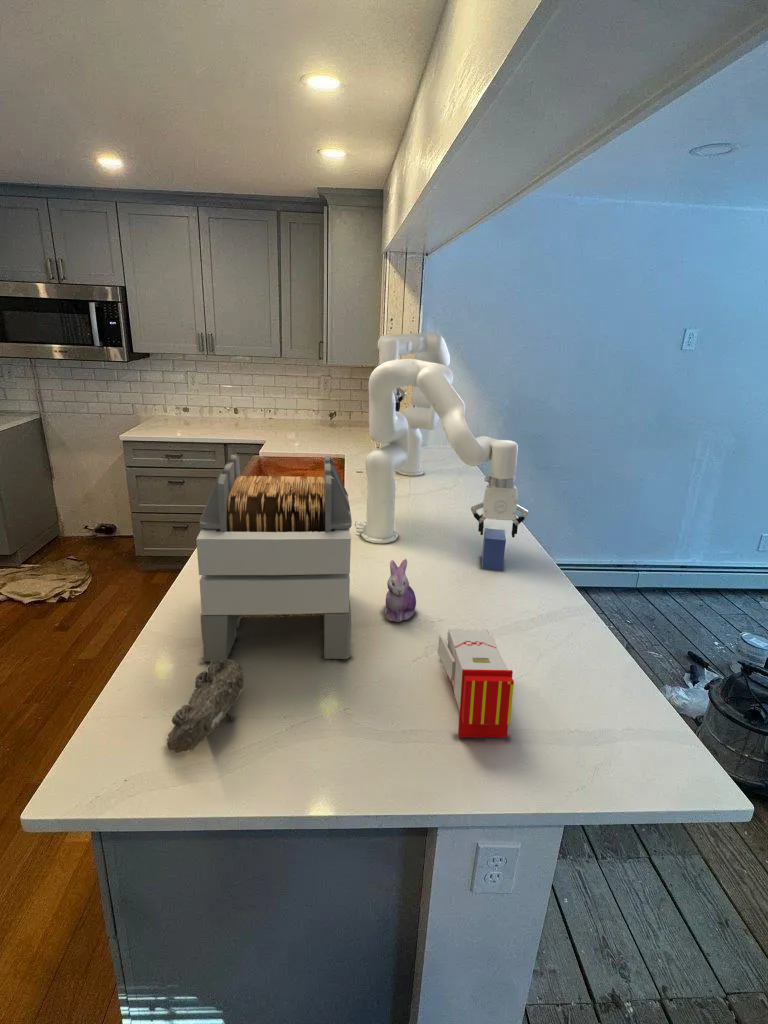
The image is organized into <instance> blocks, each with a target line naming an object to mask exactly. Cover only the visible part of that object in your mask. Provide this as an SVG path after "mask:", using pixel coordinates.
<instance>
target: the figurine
mask: <svg viewBox="0 0 768 1024" xmlns="http://www.w3.org/2000/svg"><path fill="white" fill-rule="evenodd" d="M407 567H408V559H406V558H404V559H403V560H402V561H401V563H400V565H399V566H398V565H397V563H396V562H395V561H394V560H393V559H391V560H390V561H389V570H390V576H389V578H388V579H387V589H388V591H387V592H386V594H385V595H386V596H385V607H384V615H385V616H386V620H387V621H391V622H395V623H400V622H402V621H406V620H409V619H410V618H411V617H413V616H414V615H415V610H416V606H417V597H416V593H415V591H414V590H413V587H411V586H410V582H409V579H408V577H407V574H406V571H407Z"/></svg>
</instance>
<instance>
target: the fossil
mask: <svg viewBox="0 0 768 1024" xmlns="http://www.w3.org/2000/svg"><path fill="white" fill-rule="evenodd" d="M243 670H244V669H243V667H242V665H240V664H237V662H236V661H235V660H234V659H232V658H231V659H228V658H227V660H224V661H217V660H212V661H209V665H208V666H207V671H201V672H199V673H198V674H197V675H196V676H195V680H194V684H195V685H194V687H195V689H194V690H193V693H192V694H191V697H190V698H189V700H188V704H184V705H182V706H181V707H180V709H177V710H176V711H175V713H174V715H173V716H172V718H171V723H172V724H173V727H172V730H171V731H170V732H168V734H167V738H166V741H167V742H166V745H167V749H168V750H169V751H173V752H174V753H176V754H178V753H182V752H188V751H189V752H192V751H193V750H195V748H196V747H197V746H199V744H200V743H201V742H203V741H204V740H205V739H206V738H207V737H208V736H209V735H210V734H211V733H212V732H214V730H215V729H217V727H218V726H219V724H220V722H221V721H222V720H223V719H224V718H225V716H226V717H227V719H229V720H233V717H232V715H230V714H229V710H230V709H231V708H234V706H235V704H236V703H237V702H238V699H239V697H240V695H241V693H242V691H243V690H245V689H244V688H245V675H244V671H243Z"/></svg>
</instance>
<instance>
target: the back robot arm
mask: <svg viewBox="0 0 768 1024" xmlns="http://www.w3.org/2000/svg"><path fill="white" fill-rule="evenodd" d="M377 349H378V351H379V364H377V366H376V367H378V366H379V365H381V364H383V363H385V362H388V361H392V360H399V356H407V355H413V354H414V357H413V359H415V360H421V361H426V362H431V363H437V364H442V365H445V366H447V367H448V368H449V366H450V363H451V356H450V355H451V354H450V352H449V349H448V345H447V343H446V341H445V338H444V337H443V336H442V335H441V334H439V333H431V332H417V333H414V332H413V333H399V334H383V335H381V336H380V337H379V338H378V340H377ZM393 393H394V396H395V401H396V407H395V410H396V411H398V412H400V410H401V402H402V401H403V400H404V399H405V397H406V396H407V391H406V390H404V389H402V387H399V388H395V389H394V390H393ZM400 394H401V395H400ZM410 404H411V405H412V406H409V407H405V408H404V409H403V410H402V412H401V413H402V414H403V415H404V416H405V418H406V420H407V422H408V428H409V443H408V460H407V463H406V464H405V466H404V467H403V468H401V469H399V470H397V471H396V472H397V473H398V474H400V475H402V476H407V477H416V476H422V475H423V474H424V470H423V469H422V468H421V463H422V451H423V450H422V449H423V434H422V432H421V430H427V431H434V430H435V429H436V428H437V426H438V425H439V421H440V417H439V416H438V414H437V413H436V412H435V410H434V409H433V407H432V406H431V404H430V403H429V402H428V400H427V399H426V397H425V396H424V395H423V393H422V392H421V390H420V389H419V387H415V386H413V390H412V391H411V396H410Z"/></svg>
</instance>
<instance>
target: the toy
mask: <svg viewBox="0 0 768 1024" xmlns="http://www.w3.org/2000/svg"><path fill="white" fill-rule="evenodd" d="M446 640H447V643H446V641H445V639H444V636H443V635H442V634H439V637H438V646H437V656H438V657H439V659H440V661H441V663H442V666H443V668H444V670H445V672H446V674H447V677H448V679H449V681H450V684H451V687H452V690H453V693H454V697H455V701H456V705H457V708H458V711H459V714H458V715H459V716H458V730H457V731H458V732H457V737H458V738H508V731H509V726H510V725H511V717H512V707H513V697H514V696H513V695H514V684H515V680H514V679H513V673H514V671H513V670H512V669H508V667H507V665H506V662H505V661H504V659H503V658H502V655H501V653H500V651H499V649H498V647H497V643H496V639H495V637H494V635H493V634H491V632H490V631H489V629H467V628H466V629H465V628H463V629H461V628H460V629H459V628H448V630H447V639H446Z"/></svg>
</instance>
